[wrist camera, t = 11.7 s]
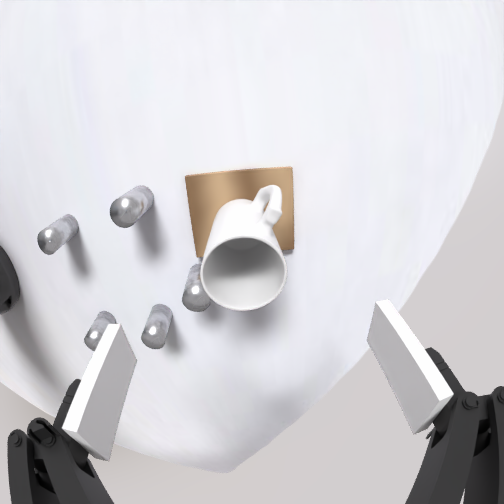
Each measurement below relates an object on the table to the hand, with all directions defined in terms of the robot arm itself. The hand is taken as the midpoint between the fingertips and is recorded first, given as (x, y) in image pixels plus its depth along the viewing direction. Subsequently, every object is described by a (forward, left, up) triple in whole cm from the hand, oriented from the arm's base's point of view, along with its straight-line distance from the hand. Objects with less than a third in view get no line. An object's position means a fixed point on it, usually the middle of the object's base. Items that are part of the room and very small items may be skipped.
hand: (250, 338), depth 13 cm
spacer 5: (-6, -8, -21) cm, 24 cm away
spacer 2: (-23, -15, -21) cm, 35 cm away
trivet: (0, 0, -21) cm, 21 cm away
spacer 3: (-12, +3, -21) cm, 25 cm away
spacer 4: (-13, -14, -21) cm, 29 cm away
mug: (+1, 0, -21) cm, 21 cm away
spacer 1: (-24, +1, -21) cm, 32 cm away
